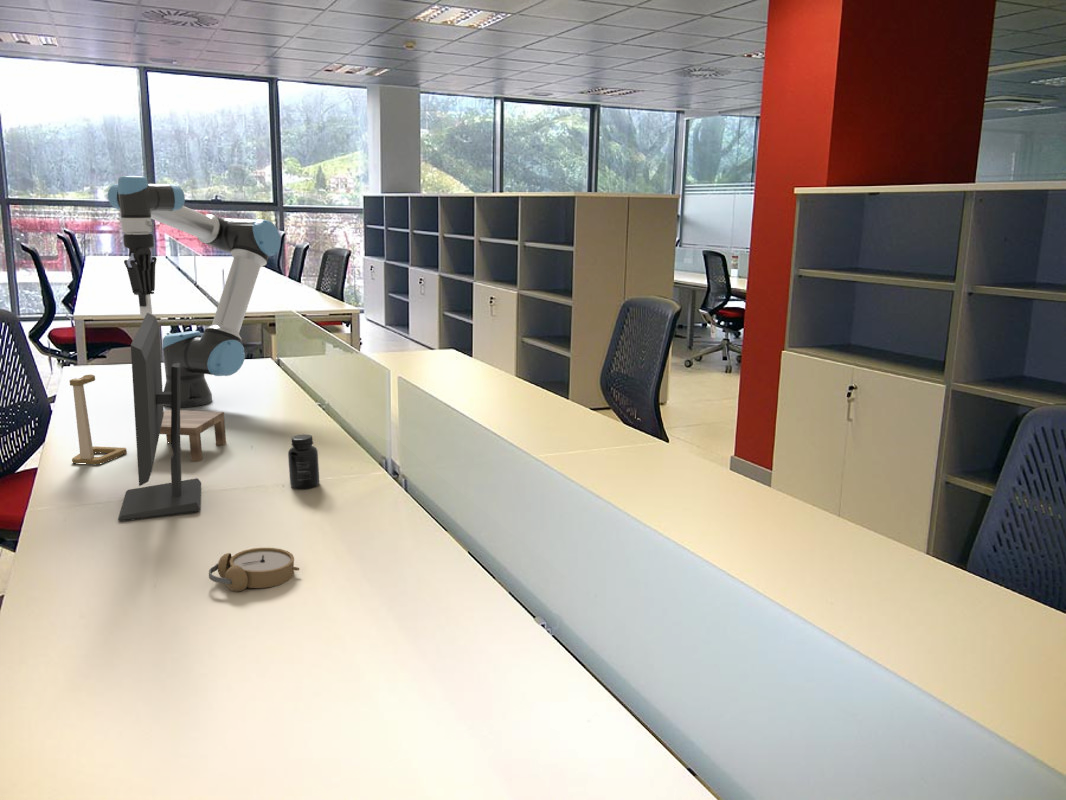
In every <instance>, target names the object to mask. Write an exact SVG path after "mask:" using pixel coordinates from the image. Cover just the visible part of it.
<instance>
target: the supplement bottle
mask: <svg viewBox="0 0 1066 800" xmlns="http://www.w3.org/2000/svg"><path fill="white" fill-rule="evenodd" d="M290 440H291V446H292V447H290V448H289V450H288V451H287V457H288V470H289V471H288V473H289V482H290V483H289V484H290V485H289V486H291V488H293V489H297V490H306V489H313V488H315V487H317V486H319V483H320V466H319V451H318V449H317V447H316V446H314V445H313V444H314V441H313V440H314V439H313V436H312V435H311V434H296V435H293V436H292V437H291V439H290Z"/></svg>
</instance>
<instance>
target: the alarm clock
mask: <svg viewBox="0 0 1066 800" xmlns="http://www.w3.org/2000/svg"><path fill="white" fill-rule="evenodd" d="M294 562H295V556H294V555H293V553H291V552H290V551H288V550H284V549H282V548H276V547H256V548H255V547H254V548H249V549H245V550H241V551H238V552H237V553H235V554H233V555H232V554H231V553H230V552H229V553H228V552H227V553H224V554H223V555H221V556H220V558H219V560H218V562H217V563H216V564H215V565H214V566H212V567H211V568H209V570H208V579H210V581H212V582H215V583H219V584H225V585H226V586H227V588H229V590H231V591H233V592H243V591H244V590H245V589H246V588H250V589H251V588H252V589H264V588H272V587H278V586H280V585H282V584H284V583H287V582H288V581H290V580H291V579H292V578H293V576H294V574H295V571H300V567H296V566H294V565H295V563H294ZM216 571H217V572H218V575H219V576H216V575H214V574H213V573H215V572H216Z"/></svg>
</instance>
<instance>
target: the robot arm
mask: <svg viewBox="0 0 1066 800" xmlns="http://www.w3.org/2000/svg"><path fill="white" fill-rule="evenodd" d="M107 200H108V203H109V205H111V206H112V207H113V208H114V209H116V210H120V216H121V226H122V227H121V228H122V232H123V233H124V234H123V236H122V237H123V238H122V239H123V245H124V248H125V249H129V251H128V252H129V253H128V259H125V260H123V261H124V262H123V263H124V265H125V267H126V270H127V275H128V278H129V283H130V287H131V290H132V293H133V295H134V296H138V304H139V314H140V318H141V319H144V318H145V316H146V314H147V313H149V314H151V315H153V310H152V309H153V308H152V300H151V299H152V298H151V295H154V294H155V290H156V289H155V288H156V265H157V256H153V255H152V252H151V249H152V248H153V247H154V246H155V244H154V235H153V234H152V232H153V221H156V222H159V223H161V224H163V225H166V226H169V227H170V228H174V229H175V230H179V231H180V232H184V233H186V234H189V235H191V236H195V237H196V238H197V239H198V240H199V241H200V242H201V243H203V244H206V245H208V246H211V247H214V249H215V248H216V249H218V250H220V251H224V252H226V253H230V254H231V256H232V257H233V261H232V264H231V265H230V268H229V272H228V274H227V277H226V281H225V283H224V287H223V290H222V292H221V296H220V299H219V301H218V305H217V307H216V311H215V314H214V317H213V320H212V323H211V325H210V326H207V327H205V328H204V331H203V333H201V332H200V331H199V330H192V331H191V330H190V331H183V332H182V331H181V332H176V333H171V334H166V335H164V336H163V338H162V349H161V350H162V354H163V355H162V356H163V362H164V363H163V364H164V372H165V383H164V389H163V392H171V367H172V364H173V363H180V408H192V407H199V406H203V405H206V404H209V403H212V401H213V395H212V391H211V389H210V386H209V384H208V382H207V380H206V378H205V375H210V376H211V375H212V376H215V377H222V376H223V377H228V376H232V375H234V374H236V373H237V372H239V370H240V369H241V368H242V367H243V364H244V361H245V358H246V357H245V356H246V353H245V347H244V346H243V344H242V341H243V339H242V337H241V335H240V332H241V331H240V330H241V328H242V325H243V322H244V319H245V317H246V316H245V315H246V313H247V310H248V306H249V304H250V300H251V298H252V293H253V290H254V287H255V285H256V282H257V278H258V276H259V272H260V268H262V267H264V266H266V265H267V263H268V261H269V258H270V257H272V256H275V255H276V254H278V253H279V251H280V248H281V241H282V240H281V236H280V233H279V230H278V228H277V226H276V224H274V223H273V222H272V221H270V220H268V219H261V218H233V217H232V218H230V217H229V218H228V217H220V216H216V215H213V214H203V213H201V212H198V211H197V210H194V209H192V208H189V207H187V206H185V202H186V197H185V192H184V190H183V188H181V187H180V186H179V185H177V184H172V183H148V178H147V177H146V176H142V175H140V176H136V175H122V176H119V177H118V179H117V183H114V184H112V185H111V186H109V188H108V192H107ZM164 405H165V406H164ZM163 406H164V407H168V408H171V404H163Z"/></svg>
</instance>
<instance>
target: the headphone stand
mask: <svg viewBox="0 0 1066 800" xmlns="http://www.w3.org/2000/svg"><path fill="white" fill-rule="evenodd" d="M95 381H96V376H95V375H94V374H85V375H83V376H82V377H79V378H77V377H76V378H71V379H70V380H69V386H71V387H72V390H73V398H74V399H73V400H74V410H75V418H76V428H77V436H78V437H77V438H78V445H79V446H78V447H79V453H78V454H76V455H75V456H74V457H72V458H71V463H72V462H73V463H86V464H100V463H103V462H105V463H107V462H106V461H108V460H110V461H112V460H115V459H117V458H120V457H121V455H122V456H124V455H123V454H125V455H126V454H127V453H128V451H127V450H128V449H127V448H126V447H114V446H112V447H111V446H93V442H92V435H91V434H92V433H91V428H90V421H89V420H90V419H89V414H88V407H87V401H86V393H85V388H84V387H85V386H84V385H86V384H90V383H92V382H95ZM95 452H101V453H100V454H104V453H108V454H104V455H100V456H95V455H94V453H95ZM95 454H96V453H95ZM119 456H120V457H119ZM116 457H117V458H116ZM114 458H115V459H114ZM111 459H112V460H111ZM108 462H109V461H108ZM73 463H72V464H73ZM103 464H104V463H103ZM100 465H101V464H100Z"/></svg>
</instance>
